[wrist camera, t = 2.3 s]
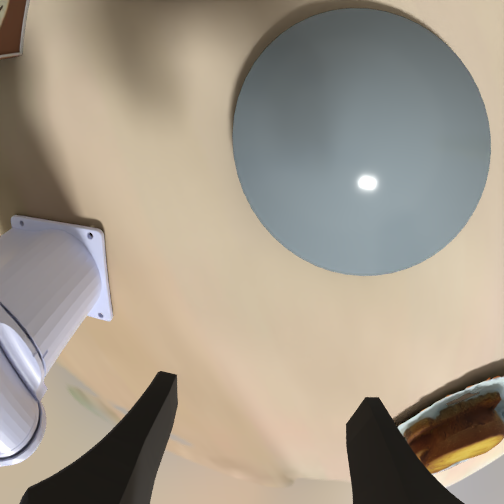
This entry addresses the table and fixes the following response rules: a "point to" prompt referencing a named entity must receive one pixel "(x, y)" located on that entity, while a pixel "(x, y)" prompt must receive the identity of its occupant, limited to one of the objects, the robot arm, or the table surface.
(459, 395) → the food on plate
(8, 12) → the food container
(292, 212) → the slate dish
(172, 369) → the table surface
